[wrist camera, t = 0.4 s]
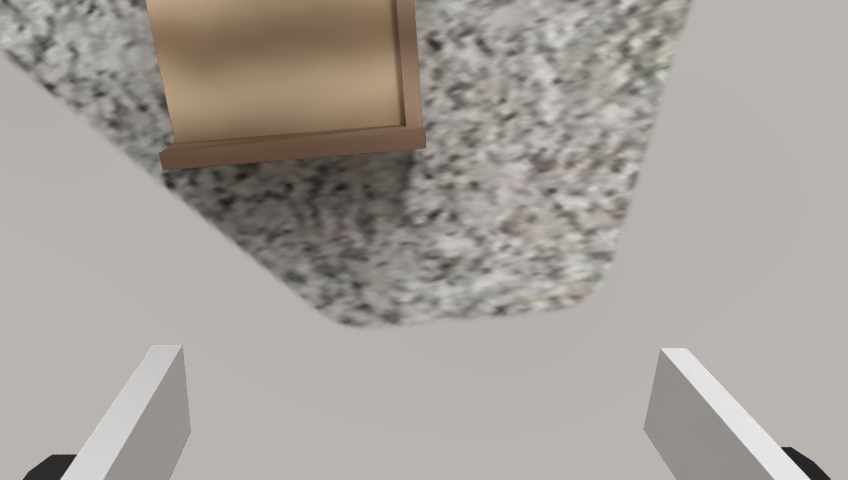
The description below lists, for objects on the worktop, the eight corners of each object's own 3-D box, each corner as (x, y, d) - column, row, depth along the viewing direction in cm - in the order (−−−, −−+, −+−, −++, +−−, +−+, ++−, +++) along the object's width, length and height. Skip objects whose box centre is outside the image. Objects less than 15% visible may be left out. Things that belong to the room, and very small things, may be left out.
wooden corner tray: (144, -89, 35) (100, -111, 30) (402, -105, 36) (407, -129, 30) (192, 149, 40) (162, 170, 34) (419, 131, 41) (426, 148, 35)
